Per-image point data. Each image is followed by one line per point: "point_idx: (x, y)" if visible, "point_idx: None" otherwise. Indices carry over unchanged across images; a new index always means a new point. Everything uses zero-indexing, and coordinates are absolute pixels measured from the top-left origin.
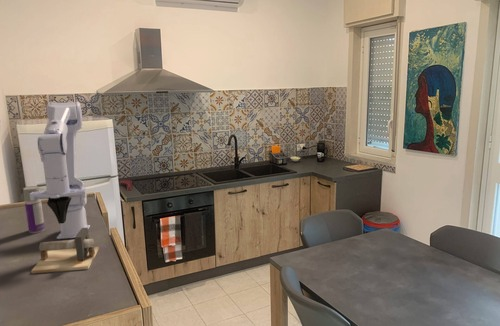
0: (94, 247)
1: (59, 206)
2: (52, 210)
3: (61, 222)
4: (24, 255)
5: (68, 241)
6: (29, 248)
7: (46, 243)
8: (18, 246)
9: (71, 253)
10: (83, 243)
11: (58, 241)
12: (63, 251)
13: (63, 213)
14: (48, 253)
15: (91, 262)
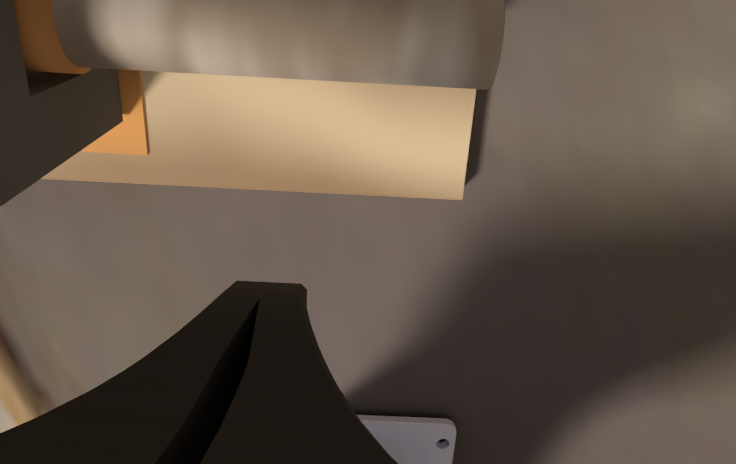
0: (57, 169)
1: (129, 451)
2: (350, 408)
3: (258, 284)
4: (648, 188)
5: (156, 4)
6: (630, 308)
7: (425, 11)
8: (718, 359)
9: (231, 85)
10: None
11: (285, 28)
12: (319, 144)
13: (150, 355)
14: (445, 134)
15: None
